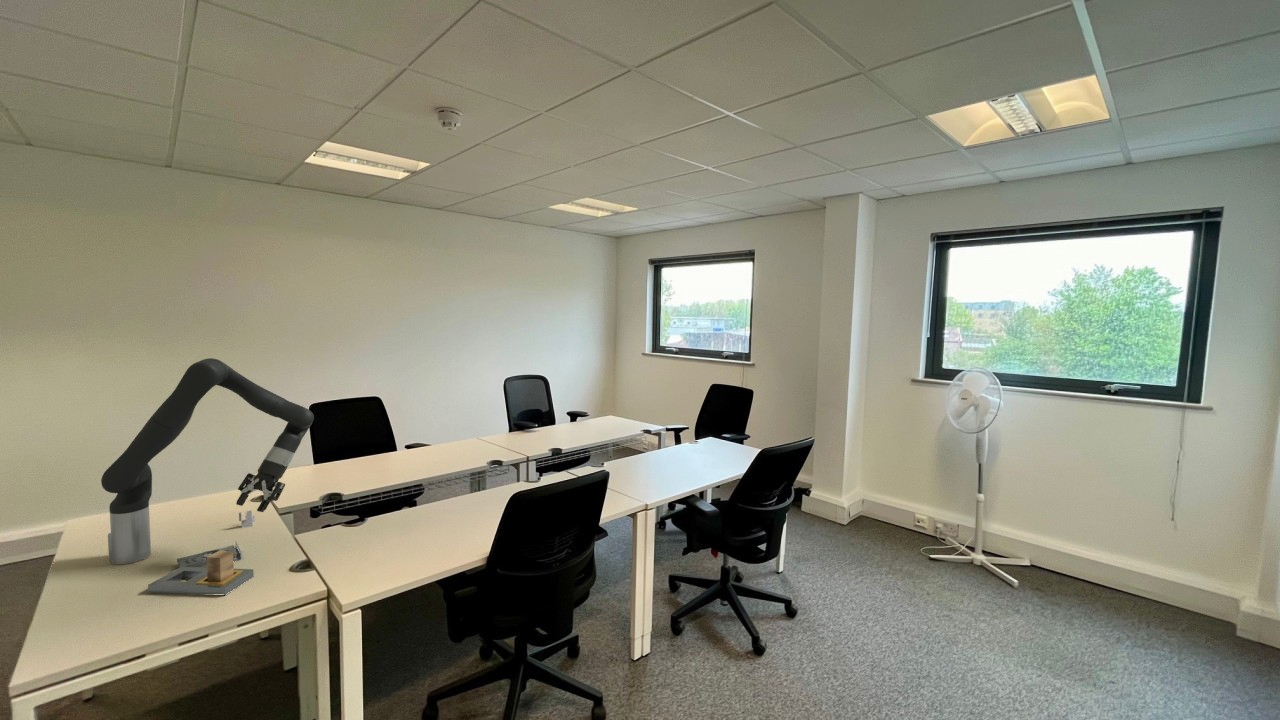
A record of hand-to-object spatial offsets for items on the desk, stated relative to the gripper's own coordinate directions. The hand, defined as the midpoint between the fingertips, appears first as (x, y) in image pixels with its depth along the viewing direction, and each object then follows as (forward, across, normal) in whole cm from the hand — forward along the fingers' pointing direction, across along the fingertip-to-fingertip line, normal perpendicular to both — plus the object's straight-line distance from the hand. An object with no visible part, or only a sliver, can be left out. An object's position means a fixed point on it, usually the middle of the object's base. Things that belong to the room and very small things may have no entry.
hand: (249, 508), depth 167 cm
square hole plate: (+24, +2, -2) cm, 24 cm away
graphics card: (+19, -11, +9) cm, 24 cm away
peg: (+23, +7, -2) cm, 24 cm away
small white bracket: (+9, -30, +30) cm, 44 cm away
